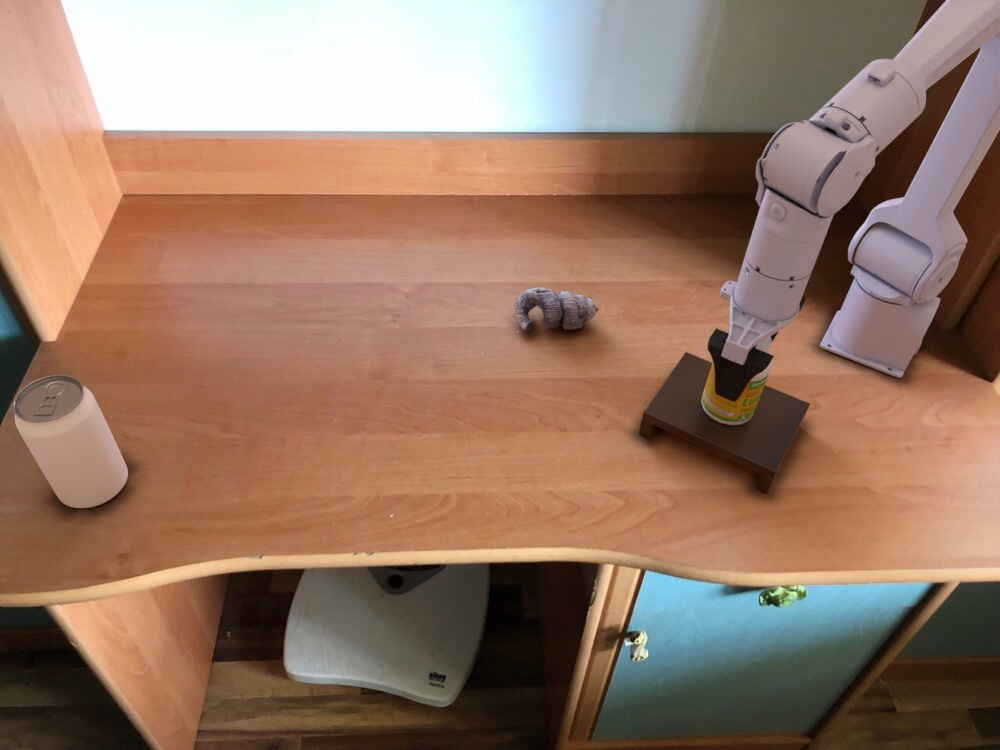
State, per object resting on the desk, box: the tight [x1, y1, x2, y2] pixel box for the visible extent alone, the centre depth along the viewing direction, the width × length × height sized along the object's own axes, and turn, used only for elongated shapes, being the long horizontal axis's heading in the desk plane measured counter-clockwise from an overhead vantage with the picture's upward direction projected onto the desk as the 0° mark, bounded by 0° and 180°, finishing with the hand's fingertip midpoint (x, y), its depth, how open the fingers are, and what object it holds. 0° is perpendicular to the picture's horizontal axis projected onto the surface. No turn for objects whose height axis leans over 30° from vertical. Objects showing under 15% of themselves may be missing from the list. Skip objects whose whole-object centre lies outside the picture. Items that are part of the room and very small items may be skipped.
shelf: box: [638, 351, 811, 495], centre depth 83 cm, size 14×11×4 cm
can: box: [12, 374, 129, 509], centre depth 72 cm, size 6×6×12 cm
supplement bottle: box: [702, 336, 773, 425], centre depth 78 cm, size 5×5×10 cm
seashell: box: [514, 286, 600, 332], centre depth 94 cm, size 5×5×10 cm
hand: (740, 372), depth 78 cm, fingers open, 7 cm apart
